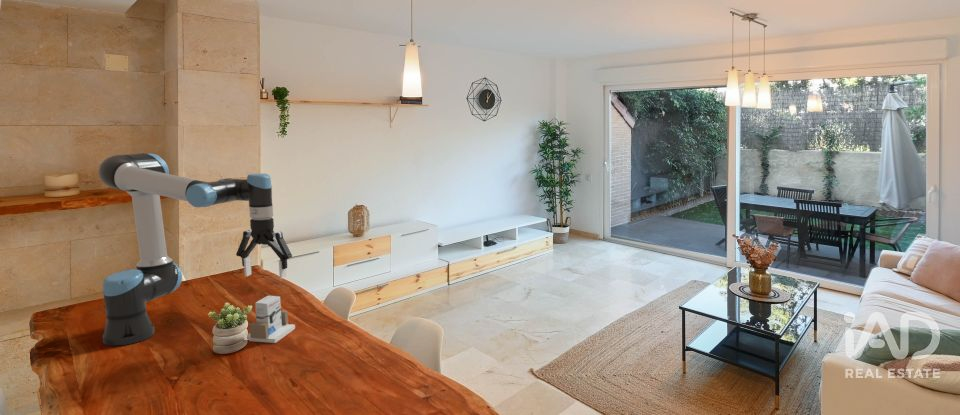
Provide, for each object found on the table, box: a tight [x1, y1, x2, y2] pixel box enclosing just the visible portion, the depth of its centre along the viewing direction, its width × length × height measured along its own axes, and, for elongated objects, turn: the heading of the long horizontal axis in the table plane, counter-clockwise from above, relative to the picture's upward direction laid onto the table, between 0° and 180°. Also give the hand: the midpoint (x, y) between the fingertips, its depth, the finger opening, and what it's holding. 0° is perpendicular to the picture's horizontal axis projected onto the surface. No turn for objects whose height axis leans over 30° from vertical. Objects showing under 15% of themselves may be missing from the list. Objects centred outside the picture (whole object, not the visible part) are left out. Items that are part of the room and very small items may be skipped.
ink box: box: [254, 295, 282, 335], centre depth 179 cm, size 8×5×12 cm, turn 169°
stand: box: [247, 309, 296, 344], centre depth 180 cm, size 12×14×6 cm
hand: (265, 276), depth 177 cm, fingers open, 13 cm apart
